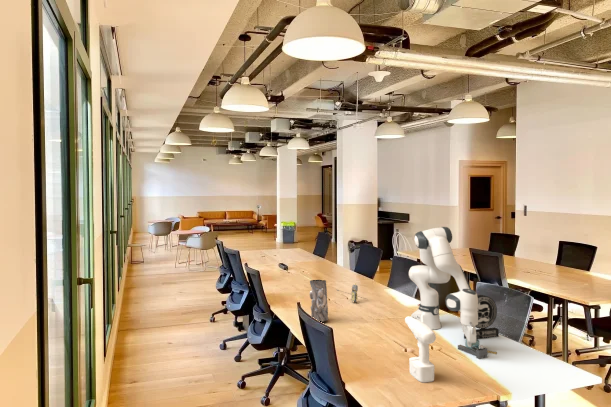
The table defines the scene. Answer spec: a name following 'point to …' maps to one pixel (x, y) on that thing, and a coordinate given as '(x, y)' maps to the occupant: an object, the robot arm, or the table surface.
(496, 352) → the gold ball-headed pin
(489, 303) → the decorative sign
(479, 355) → the grey t-shaped bar
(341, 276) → the table surface
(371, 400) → the table surface
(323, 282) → the sculpture
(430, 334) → the power drill
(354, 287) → the toy
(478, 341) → the green knobbed cube
